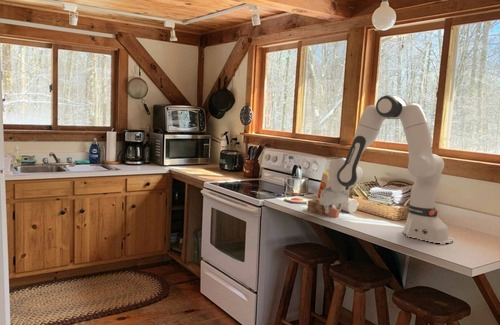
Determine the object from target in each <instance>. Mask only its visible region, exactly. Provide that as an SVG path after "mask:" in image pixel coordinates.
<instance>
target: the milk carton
mask: <svg viewBox="0 0 500 325" xmlns="http://www.w3.org/2000/svg"><path fill="white" fill-rule="evenodd" d="M328 171H329V167H327V168H326V170H324V171H323V172H322V175H321V179H320V184H319V189H318V192H317V196H316V199H320V195H321V192H322V190H323V189H324V188H327V182H328V178H329V173H328Z"/></svg>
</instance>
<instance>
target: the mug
mask: <svg viewBox="0 0 500 325" xmlns="http://www.w3.org/2000/svg"><path fill="white" fill-rule="evenodd" d="M338 205H339V204H334V206H335V209H337V208H338ZM359 205H360V204H359V202H358V201H357V200H356V199H354V198H351V197H349V198H348V202H347V203H343V205H342V207H341V211H343V212H346V213H350V214H354V213H356V211H357V210H358V206H359Z"/></svg>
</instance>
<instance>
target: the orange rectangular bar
mask: <svg viewBox="0 0 500 325" xmlns="http://www.w3.org/2000/svg"><path fill="white" fill-rule="evenodd" d="M328 209H329V210H330V211H329V213H325V214H324V215H326V216H327V217H328V216H329V217H331V218H338V219H339V216H340V211H339V209H337V208H336V207H335V208H334V207H333V206H332V207H328Z"/></svg>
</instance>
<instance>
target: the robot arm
mask: <svg viewBox="0 0 500 325" xmlns="http://www.w3.org/2000/svg"><path fill="white" fill-rule="evenodd" d="M425 114H426V113H424V110H423V109H422V107H421V105H420V104H418V103H415V102H413V103H409V104H408V103H407V101H406V100H405V99H403V98H402V97H398V96H397V95H391V94H389V95H388V94H386V95H382V96H381V97H380V98H378V100H377V102H376V104H370V105H367V106H366V107H365V108H364V109H363V112H362V114H361V116H360V118H359V120H358V124H357V126H356V131H355V134H354V137H353V140H352V144H351V145H350V148H349V150H348V154H347V155H346V157H344V156H338V157H337V156H336V157H335V156H334V157H332V158H331V159H330V160H329V165H328V169H329V171H328V173H329V178H328V182H327V188H324V189H323V190H322V192H321V195H320V201H319V203H320V205H323V206H324V208H325V213H329V211H330V210H329V209H328V207H329V205H332V206H333V205H334V206H335V204H339V205H338V208H336V209H339V212H341V211H342V210H341V207H342V205H343V203H347V202H348V198H350V196H349V195H350V192H349V191H350V187H352V186H353V185H355V184H357V183H359V182H361V181H362V179H364V175H365V174H364V173H365V172H364V170H363V168H362V166H361V165H360V166H359V162H360V160H361V158H362V155H363V153H364V151H366V149H367V148H368V147H369V146H371V145H372V144H373V143H374V142H375V141H376V140H377V137H378V136H379V133H380V130H381V127H382V124H383V122H384V121H385V120H399V121H401V125H402V129H403V131H404V136H405V139H406V143H407V148H408V149H407V150H408V164H407V169H408V172H409V174H410V175H411V176H413V177H415V180H414V183H413V184H412V186H411V190H410V197H409V204H408V205H407V206H408V208H407V218H406V222H405V226H404V227H403V228H404V229H403V231H402V233H403V234H404V235H405V234H406V235H405V236H406V237H407V236H408V237H407V238H409V237H412V238H411V239H413V238H417V239H416V240H418V239H421V240H420V241H422V240H426V241H430V242H435V243H449V242H452V241H453V242H454V238H453V237H450V236H449V227H448V225H446V223H444V222H443V220H441V219H440V218H439V217H438V213H439V212H440V209H439V210H437V209H436V206H435V205H436V197H437V190H438V187H439V183H440V180H441V176H442V172H443V170H444V168H445V161H444V159H443V158H442V157H441V156H439V155H438V154H435V153H433V149H432V142H433V138H432V134H431V131H430V127H429V123H428V120H427V117H426V115H425ZM426 241H425V242H426ZM430 242H429V243H430ZM453 242H452V243H453ZM435 243H434V244H435ZM449 244H450V243H449Z"/></svg>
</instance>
